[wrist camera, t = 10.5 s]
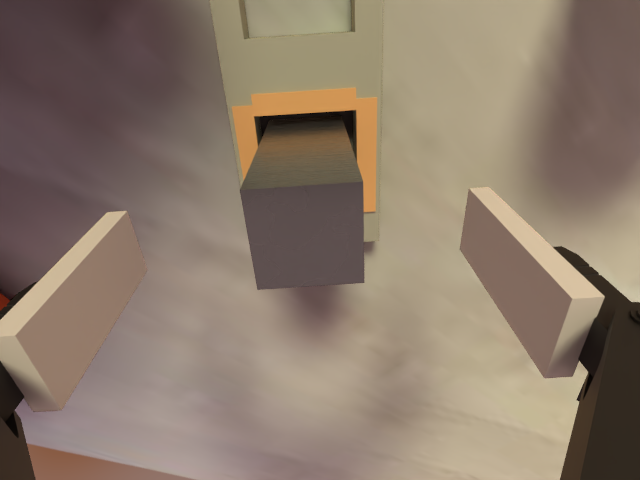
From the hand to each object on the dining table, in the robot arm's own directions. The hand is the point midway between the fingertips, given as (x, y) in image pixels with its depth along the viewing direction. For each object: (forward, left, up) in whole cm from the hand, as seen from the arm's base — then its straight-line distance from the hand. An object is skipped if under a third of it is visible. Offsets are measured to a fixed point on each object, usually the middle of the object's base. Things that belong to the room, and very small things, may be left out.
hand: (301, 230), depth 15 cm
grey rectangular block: (0, 0, -12) cm, 12 cm away
